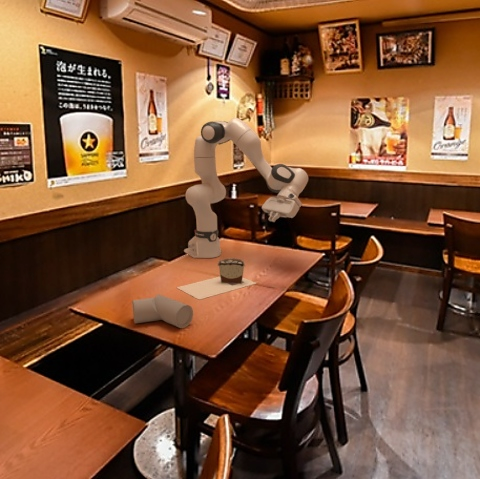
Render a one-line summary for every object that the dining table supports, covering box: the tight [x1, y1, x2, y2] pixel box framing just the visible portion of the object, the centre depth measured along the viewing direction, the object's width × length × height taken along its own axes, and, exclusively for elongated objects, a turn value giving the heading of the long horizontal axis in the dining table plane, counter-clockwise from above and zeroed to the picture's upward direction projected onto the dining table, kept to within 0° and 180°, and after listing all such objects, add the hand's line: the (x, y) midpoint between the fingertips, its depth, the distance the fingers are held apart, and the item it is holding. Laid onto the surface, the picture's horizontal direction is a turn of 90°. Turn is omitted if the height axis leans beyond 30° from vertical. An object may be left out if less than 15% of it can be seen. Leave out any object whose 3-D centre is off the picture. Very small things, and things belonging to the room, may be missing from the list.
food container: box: [217, 258, 246, 284], centre depth 206 cm, size 12×6×10 cm, turn 84°
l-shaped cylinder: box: [131, 293, 194, 329], centre depth 164 cm, size 18×11×20 cm
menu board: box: [176, 276, 257, 301], centre depth 202 cm, size 18×31×1 cm, turn 129°
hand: (271, 220), depth 215 cm, fingers closed
